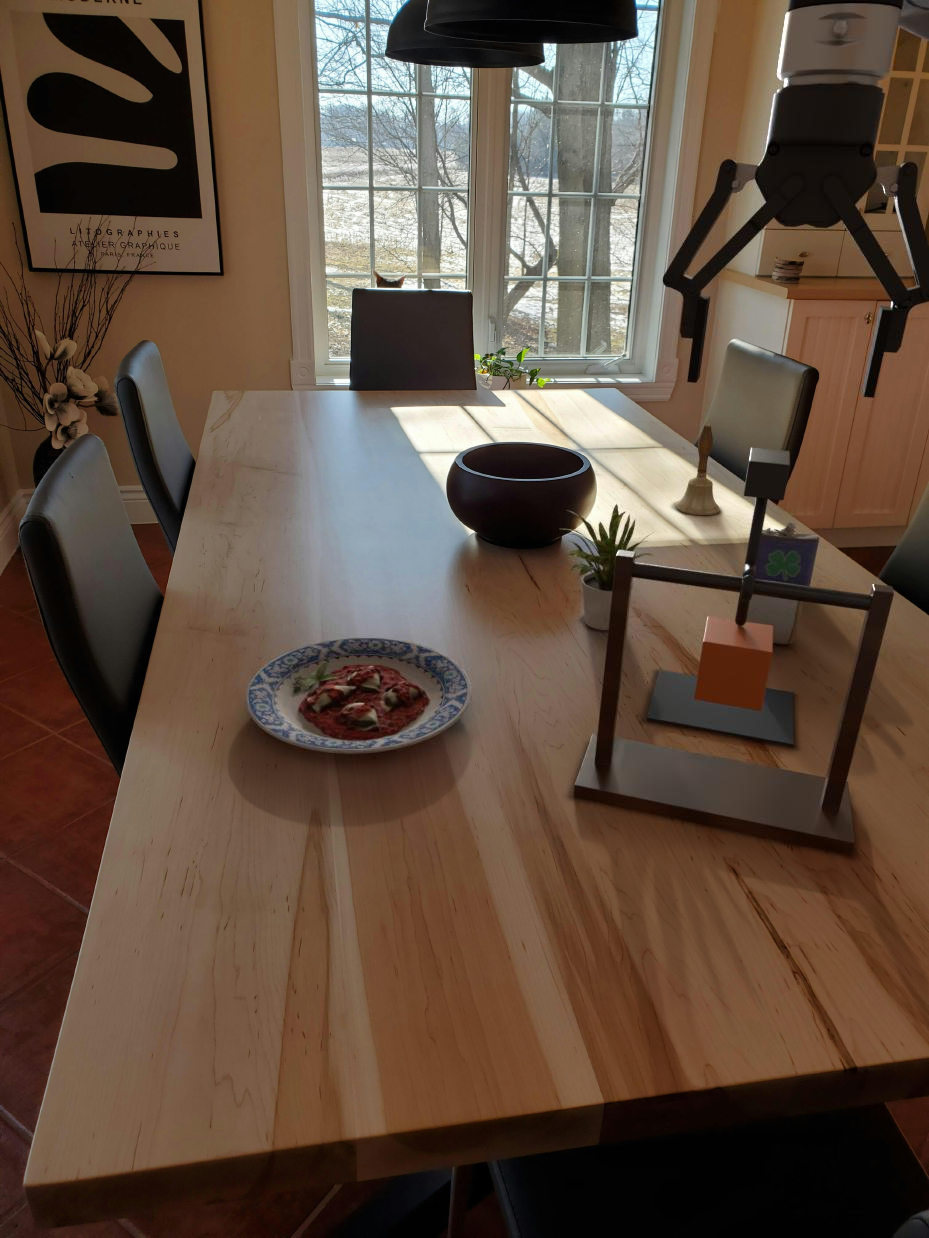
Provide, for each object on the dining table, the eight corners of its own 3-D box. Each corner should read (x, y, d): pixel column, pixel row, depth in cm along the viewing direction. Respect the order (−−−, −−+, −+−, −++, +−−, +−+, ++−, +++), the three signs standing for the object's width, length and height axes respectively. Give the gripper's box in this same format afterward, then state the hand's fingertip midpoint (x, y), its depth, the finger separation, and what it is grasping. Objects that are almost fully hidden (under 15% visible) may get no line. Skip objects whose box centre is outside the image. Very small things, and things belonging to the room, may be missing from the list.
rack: (845, 793, 91) (902, 570, 80) (851, 855, 83) (916, 615, 72) (591, 744, 98) (613, 533, 87) (573, 797, 89) (594, 570, 79)
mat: (792, 694, 109) (793, 691, 109) (793, 747, 98) (793, 744, 98) (659, 672, 113) (659, 669, 113) (646, 720, 103) (646, 717, 103)
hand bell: (695, 518, 167) (707, 433, 160) (665, 505, 173) (676, 422, 166) (728, 511, 170) (742, 428, 163) (698, 499, 177) (710, 418, 170)
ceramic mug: (793, 655, 118) (804, 601, 115) (729, 644, 120) (738, 591, 117) (796, 624, 127) (806, 573, 124) (736, 614, 129) (745, 564, 126)
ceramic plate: (517, 706, 105) (518, 684, 103) (342, 801, 88) (340, 776, 87) (374, 633, 121) (373, 613, 120) (203, 701, 104) (200, 678, 103)
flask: (807, 588, 138) (820, 522, 134) (810, 595, 136) (824, 529, 131) (745, 582, 140) (756, 517, 135) (747, 590, 137) (759, 524, 132)
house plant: (550, 594, 134) (558, 488, 127) (644, 600, 133) (657, 494, 126) (548, 637, 121) (557, 522, 114) (652, 644, 120) (667, 529, 113)
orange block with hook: (762, 681, 87) (806, 451, 77) (761, 711, 81) (808, 468, 72) (699, 671, 88) (734, 444, 79) (693, 699, 83) (731, 460, 74)
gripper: (646, 81, 64) (618, 381, 74) (1039, 77, 57) (952, 410, 66) (661, 91, 71) (633, 366, 80) (1015, 89, 64) (940, 391, 73)
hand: (778, 387), depth 73 cm, fingers open, 13 cm apart
